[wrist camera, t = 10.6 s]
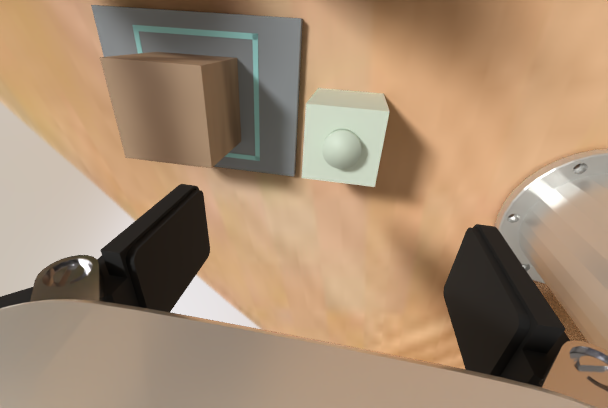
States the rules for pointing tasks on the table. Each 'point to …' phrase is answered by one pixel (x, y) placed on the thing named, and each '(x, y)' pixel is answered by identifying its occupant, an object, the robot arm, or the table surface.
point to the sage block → (344, 136)
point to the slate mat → (251, 70)
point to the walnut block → (175, 106)
